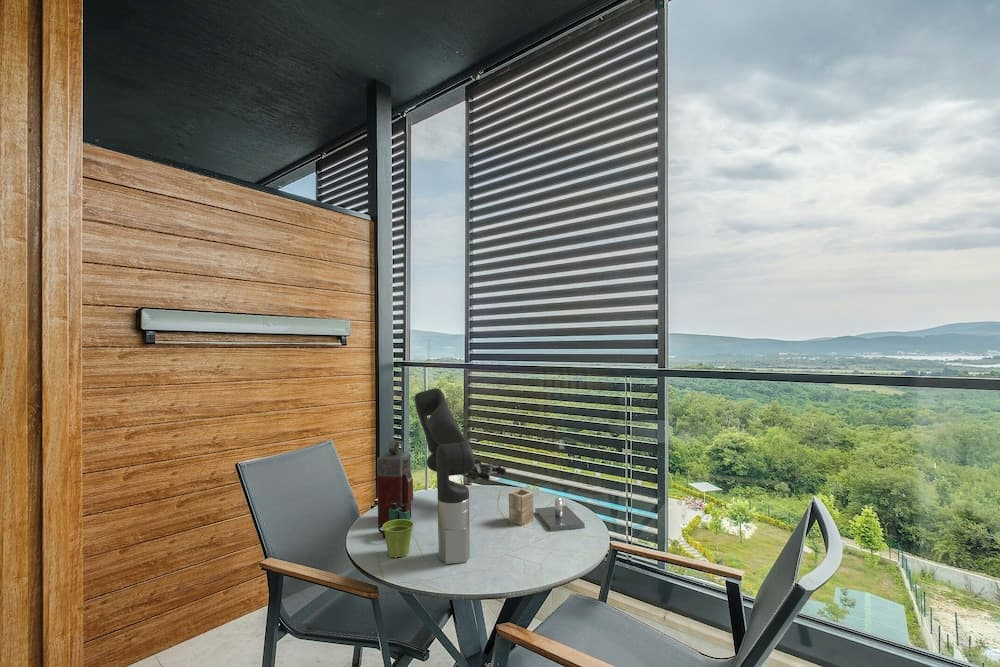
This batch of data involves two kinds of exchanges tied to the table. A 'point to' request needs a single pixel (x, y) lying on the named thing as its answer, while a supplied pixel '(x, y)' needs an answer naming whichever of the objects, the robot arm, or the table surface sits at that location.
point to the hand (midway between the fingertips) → (497, 474)
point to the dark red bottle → (393, 481)
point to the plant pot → (398, 536)
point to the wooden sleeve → (521, 506)
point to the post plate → (559, 517)
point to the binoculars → (396, 514)
